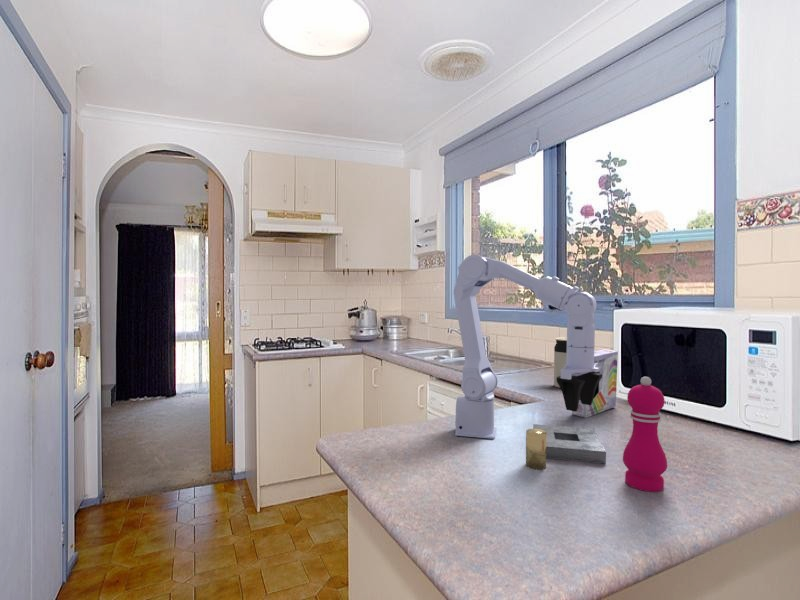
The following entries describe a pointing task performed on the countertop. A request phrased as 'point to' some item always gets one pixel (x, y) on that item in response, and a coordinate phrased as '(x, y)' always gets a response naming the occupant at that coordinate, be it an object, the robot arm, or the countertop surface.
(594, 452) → the plate
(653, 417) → the pepper mill
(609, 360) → the cake pan box
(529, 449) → the brass cylinder
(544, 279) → the robot arm
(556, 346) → the travel mug
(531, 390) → the countertop surface
